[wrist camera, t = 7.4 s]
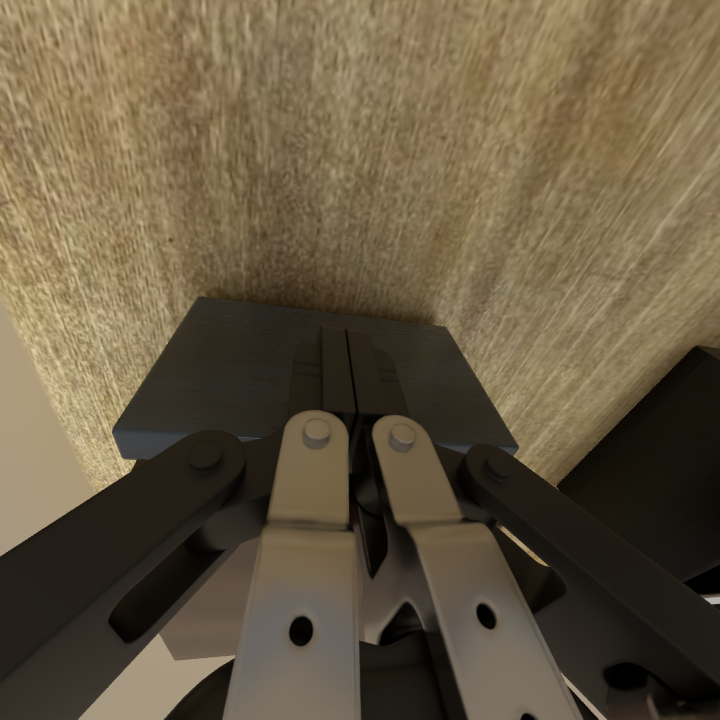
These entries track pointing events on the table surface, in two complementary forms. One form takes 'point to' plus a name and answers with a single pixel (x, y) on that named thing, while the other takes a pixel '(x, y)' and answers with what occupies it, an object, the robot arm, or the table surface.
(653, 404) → the metal box
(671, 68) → the table surface
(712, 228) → the table surface
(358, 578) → the drawer cabinet
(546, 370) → the table surface
